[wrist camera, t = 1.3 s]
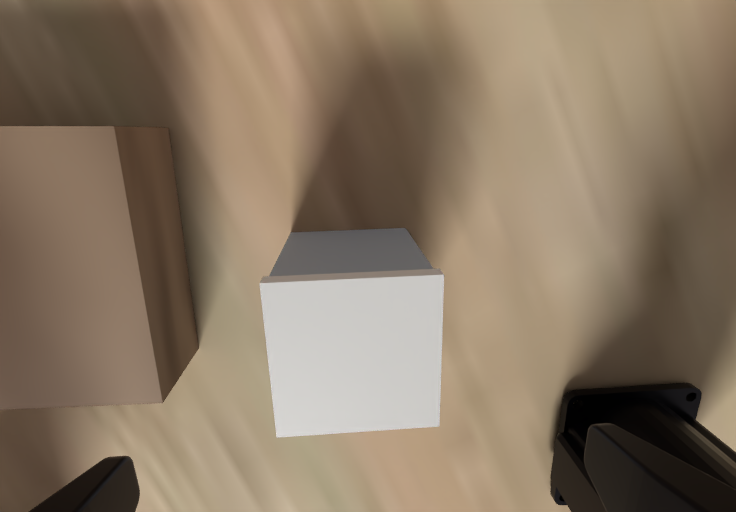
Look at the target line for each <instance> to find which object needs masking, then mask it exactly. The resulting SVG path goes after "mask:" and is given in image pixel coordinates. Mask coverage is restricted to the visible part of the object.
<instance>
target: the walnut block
mask: <svg viewBox="0 0 736 512" xmlns="http://www.w3.org/2000/svg"><path fill="white" fill-rule="evenodd" d="M198 349H199V346H198V339H197V332H196V324H195V317H194V310H193V302H192V295H191V288H190V281H189V273H188V266H187V259H186V252H185V244H184V237H183V230H182V223H181V215H180V208H179V201H178V194H177V186H176V179H175V172H174V165H173V157H172V150H171V143H170V136H169V128H162V127H126V126H0V410H5V409H30V408H54V407H79V406H103V405H128V404H152V403H163V402H164V400H165V399H166V397H167V396H168V394H169V393H170V391H171V390H172V388H173V387H174V385H175V384H176V382H177V381H178V379H179V377H180V376H181V374H182V373H183V371H184V370H185V368H186V367H187V365H188V364H189V362H190V361H191V359H192V358H193V356H194V355H195V353H196V352H197V350H198Z"/></svg>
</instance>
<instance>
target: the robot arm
mask: <svg viewBox="0 0 736 512" xmlns="http://www.w3.org/2000/svg"><path fill="white" fill-rule="evenodd" d="M576 400H578V401H577V402H576V403H574V402H575V401H576ZM700 400H701V391H700V390H699V389H698V388H696V387H695V386H694V385H692V384H690V383H676V384H661V385H645V386H630V387H614V388H599V389H583V390H573V391H570V392H568V393H566V395H565V396H564V398H563V402H562V410H561V417H560V425H559V432H558V435H557V437H556V441H555V448H554V456H553V463H552V471H551V479H552V484H551V491H550V492H551V496H552V497H553V499H554V501H555V502H556V504H558V505H568V507H569V509H570V510H571V512H736V452H735V451H733V450H732V449H731V448H730V447H728V446H727V445H726V444H725V443H724V442H722V441H721V440H720V439H719V438H717V437H716V436H715V435H714V434H712V433H711V432H710V431H709V430H707V429H706V428H705V427H704V426H702V425H701V424H700V423H699V422H697V421H696V416H697V412H698V408H699V404H700ZM573 403H574V404H573ZM139 496H140V490H139V485H138V480H137V476H136V472H135V468H134V464H133V461H132V459H131V458H130V457H129V456H116V457H108V458H105V459H103V460H102V461H100V462H99V463H97V464H96V465H95V466H93V467H92V468H90V469H89V470H87V471H86V472H85V473H83V474H82V475H80V476H79V477H77V478H76V479H75V480H73V481H72V482H70V483H69V484H67V485H66V486H65V487H63V488H62V489H60V490H59V491H57V492H56V493H55V494H53V495H52V496H50V497H49V498H47V499H46V500H45V501H43V502H42V503H40V504H39V505H38V506H36V507H35V508H33V509H32V510H30V511H29V512H135V511H136V508H137V505H138V501H139Z"/></svg>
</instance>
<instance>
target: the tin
mask: <svg viewBox="0 0 736 512" xmlns="http://www.w3.org/2000/svg"><path fill="white" fill-rule="evenodd" d="M260 292H261V301H262V310H263V319H264V328H265V337H266V346H267V355H268V364H269V373H270V382H271V391H272V400H273V409H274V418H275V427H276V436H277V437H291V436H306V435H321V434H335V433H350V432H365V431H379V430H394V429H409V428H423V427H438V426H439V422H440V390H441V358H442V325H443V293H444V274H443V272H442V271H441V270H440V269H433V267H432V266H431V264H430V263H429V261H428V260H427V258H426V257H425V256H424V254H423V253H422V251H421V250H420V248H419V247H418V245H417V244H416V243H415V241H414V240H413V238H412V237H411V235H410V234H409V232H408V231H407V230H406V228H389V229H365V230H340V231H315V232H291V233H290V235H289V237H288V239H287V241H286V243H285V245H284V247H283V249H282V251H281V253H280V255H279V257H278V259H277V261H276V263H275V265H274V267H273V269H272V271H271V273H270V275H269V276H267V277H263V278H262V280H261V281H260Z"/></svg>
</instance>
